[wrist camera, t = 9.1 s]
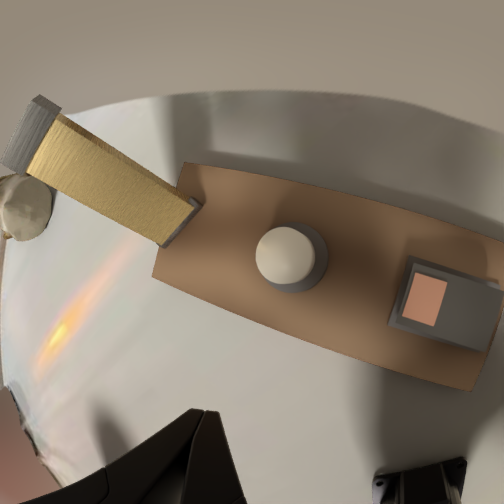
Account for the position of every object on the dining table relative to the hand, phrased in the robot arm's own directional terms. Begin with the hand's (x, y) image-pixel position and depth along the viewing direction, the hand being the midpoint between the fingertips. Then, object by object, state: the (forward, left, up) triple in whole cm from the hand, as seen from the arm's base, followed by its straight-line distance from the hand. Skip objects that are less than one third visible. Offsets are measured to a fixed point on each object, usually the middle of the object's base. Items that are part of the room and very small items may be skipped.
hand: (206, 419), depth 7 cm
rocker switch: (+1, -9, -8) cm, 12 cm away
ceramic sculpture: (+19, +30, -11) cm, 37 cm away
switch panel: (+4, -3, -10) cm, 11 cm away
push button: (+5, -1, -8) cm, 9 cm away
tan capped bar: (+9, +5, -8) cm, 13 cm away
